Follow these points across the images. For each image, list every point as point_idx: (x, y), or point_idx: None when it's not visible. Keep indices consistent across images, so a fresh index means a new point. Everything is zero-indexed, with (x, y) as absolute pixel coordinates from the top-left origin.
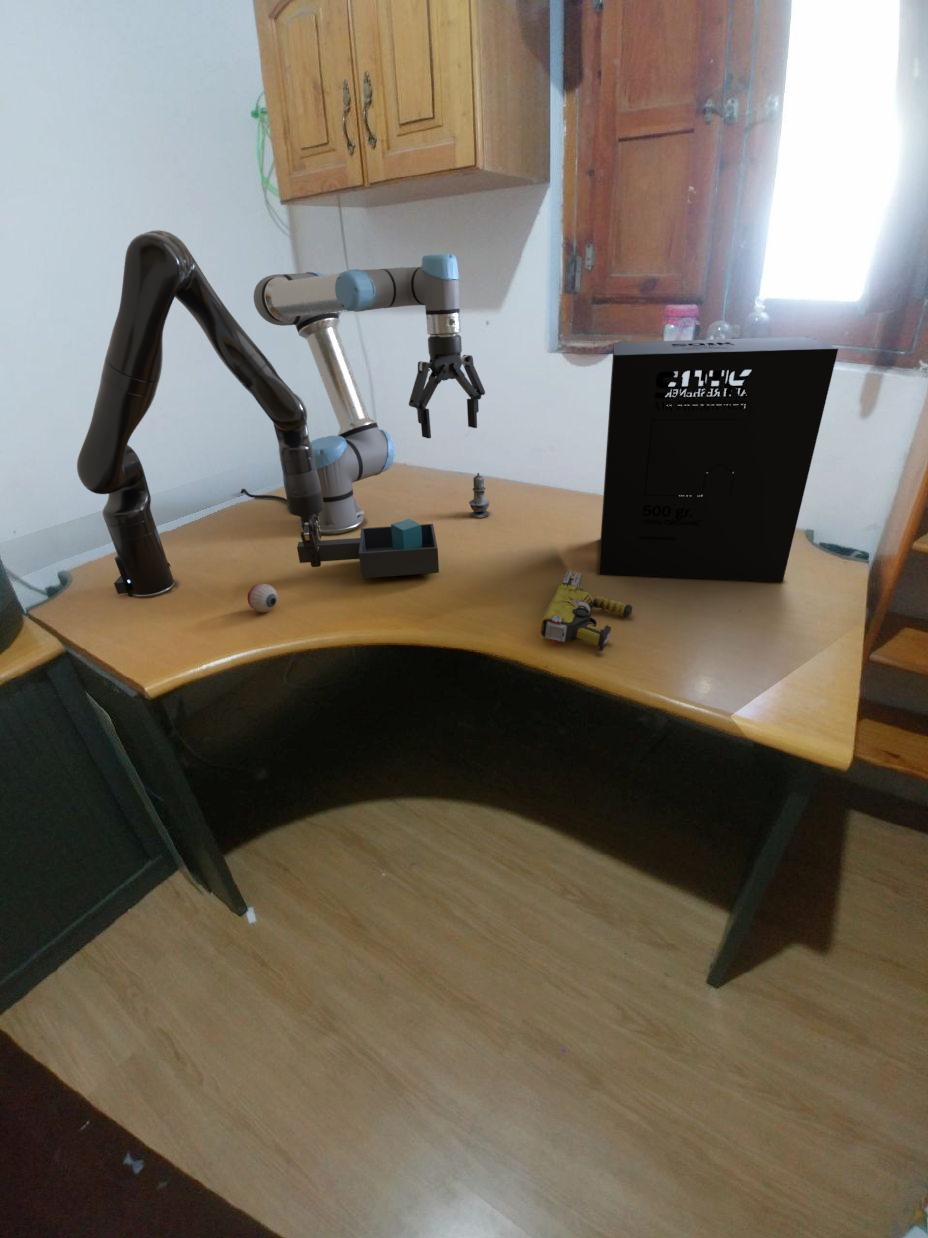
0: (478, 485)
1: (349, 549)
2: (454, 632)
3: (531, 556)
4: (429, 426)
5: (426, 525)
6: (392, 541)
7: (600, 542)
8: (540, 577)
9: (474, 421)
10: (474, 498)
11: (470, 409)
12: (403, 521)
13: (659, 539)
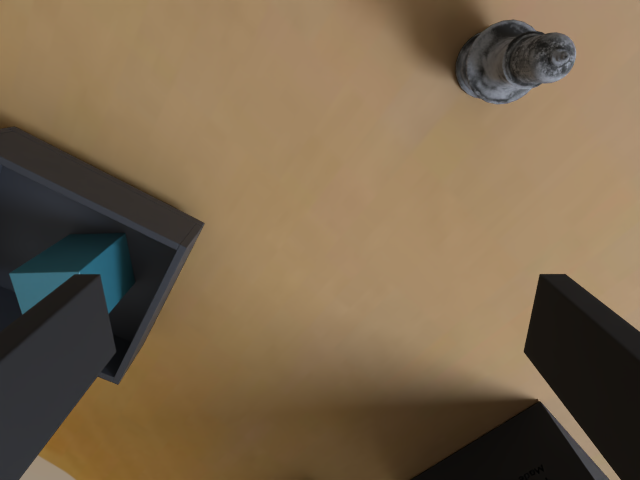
0: (522, 77)
1: None
2: (88, 477)
3: (370, 369)
4: (61, 413)
5: (165, 243)
6: (44, 251)
7: (517, 418)
8: (315, 437)
9: (550, 384)
10: (492, 59)
11: (626, 418)
12: (53, 279)
13: (602, 472)
